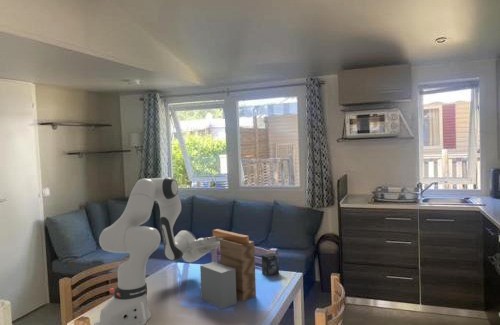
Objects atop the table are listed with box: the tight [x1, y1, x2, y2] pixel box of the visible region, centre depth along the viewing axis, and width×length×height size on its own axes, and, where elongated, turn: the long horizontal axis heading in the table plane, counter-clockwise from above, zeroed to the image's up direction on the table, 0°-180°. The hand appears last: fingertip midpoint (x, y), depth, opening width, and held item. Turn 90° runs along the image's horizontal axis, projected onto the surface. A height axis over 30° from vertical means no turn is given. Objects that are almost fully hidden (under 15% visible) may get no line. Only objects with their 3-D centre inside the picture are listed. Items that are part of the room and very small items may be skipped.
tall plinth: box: [219, 239, 257, 302], centre depth 187 cm, size 8×16×26 cm, turn 42°
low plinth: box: [199, 261, 237, 310], centre depth 179 cm, size 8×16×16 cm, turn 42°
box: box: [261, 252, 280, 277], centre depth 216 cm, size 8×6×11 cm
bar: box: [212, 228, 250, 244], centre depth 190 cm, size 3×24×3 cm, turn 42°
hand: (214, 237), depth 199 cm, fingers open, 8 cm apart
